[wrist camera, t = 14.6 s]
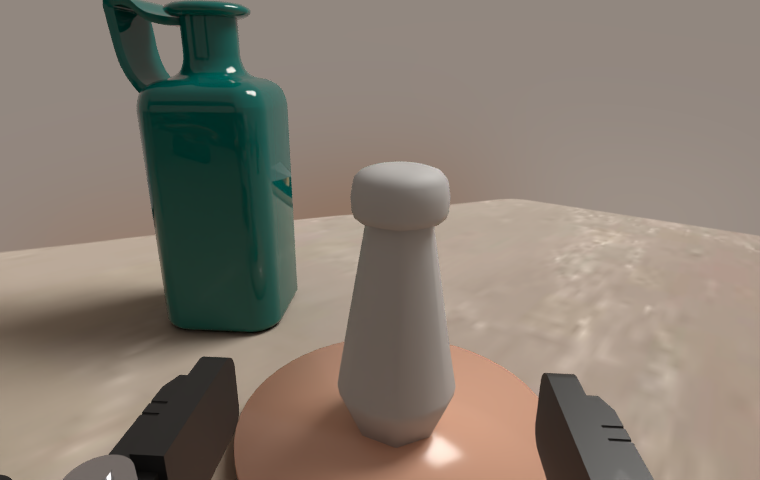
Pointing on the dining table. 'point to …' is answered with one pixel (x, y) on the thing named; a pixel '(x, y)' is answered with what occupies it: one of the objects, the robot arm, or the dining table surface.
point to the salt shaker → (398, 306)
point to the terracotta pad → (378, 460)
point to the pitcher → (211, 166)
